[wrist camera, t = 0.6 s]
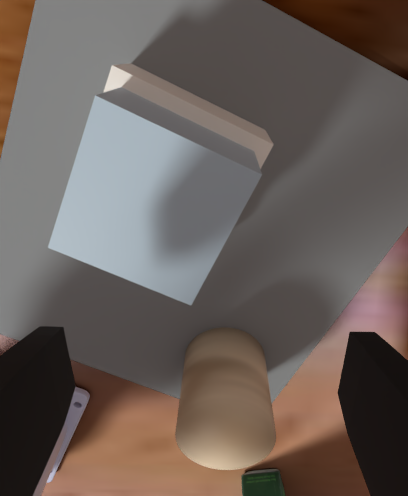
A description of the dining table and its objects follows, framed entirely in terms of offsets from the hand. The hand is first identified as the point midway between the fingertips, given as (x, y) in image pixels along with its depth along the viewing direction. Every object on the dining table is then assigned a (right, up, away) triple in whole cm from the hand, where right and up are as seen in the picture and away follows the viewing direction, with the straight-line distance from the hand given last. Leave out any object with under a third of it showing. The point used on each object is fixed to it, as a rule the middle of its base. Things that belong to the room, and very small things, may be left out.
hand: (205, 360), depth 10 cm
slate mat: (-1, +3, +9) cm, 10 cm away
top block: (-2, +5, +4) cm, 7 cm away
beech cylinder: (+1, -3, +12) cm, 12 cm away
